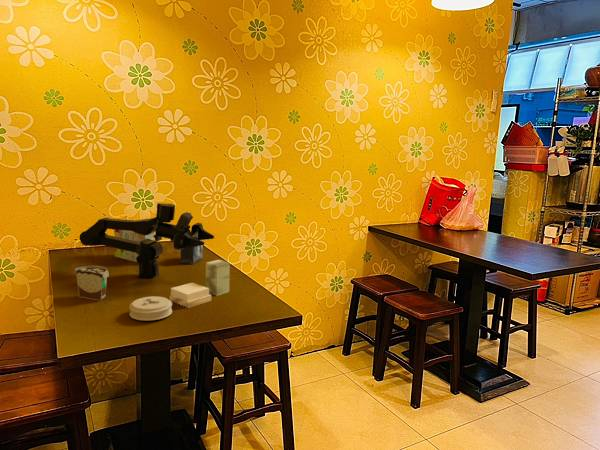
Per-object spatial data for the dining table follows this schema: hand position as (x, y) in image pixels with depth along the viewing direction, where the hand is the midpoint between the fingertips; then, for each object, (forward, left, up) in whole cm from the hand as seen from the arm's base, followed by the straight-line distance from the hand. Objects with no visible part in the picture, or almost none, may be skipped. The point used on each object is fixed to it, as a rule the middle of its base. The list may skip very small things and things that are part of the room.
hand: (209, 240), depth 173 cm
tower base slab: (+1, -21, -17) cm, 27 cm away
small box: (-17, +27, -17) cm, 37 cm away
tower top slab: (+1, -21, -15) cm, 26 cm away
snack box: (-42, +22, -17) cm, 51 cm away
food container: (-31, -25, -17) cm, 43 cm away
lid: (-6, -36, -17) cm, 40 cm away
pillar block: (+7, -10, -17) cm, 20 cm away
